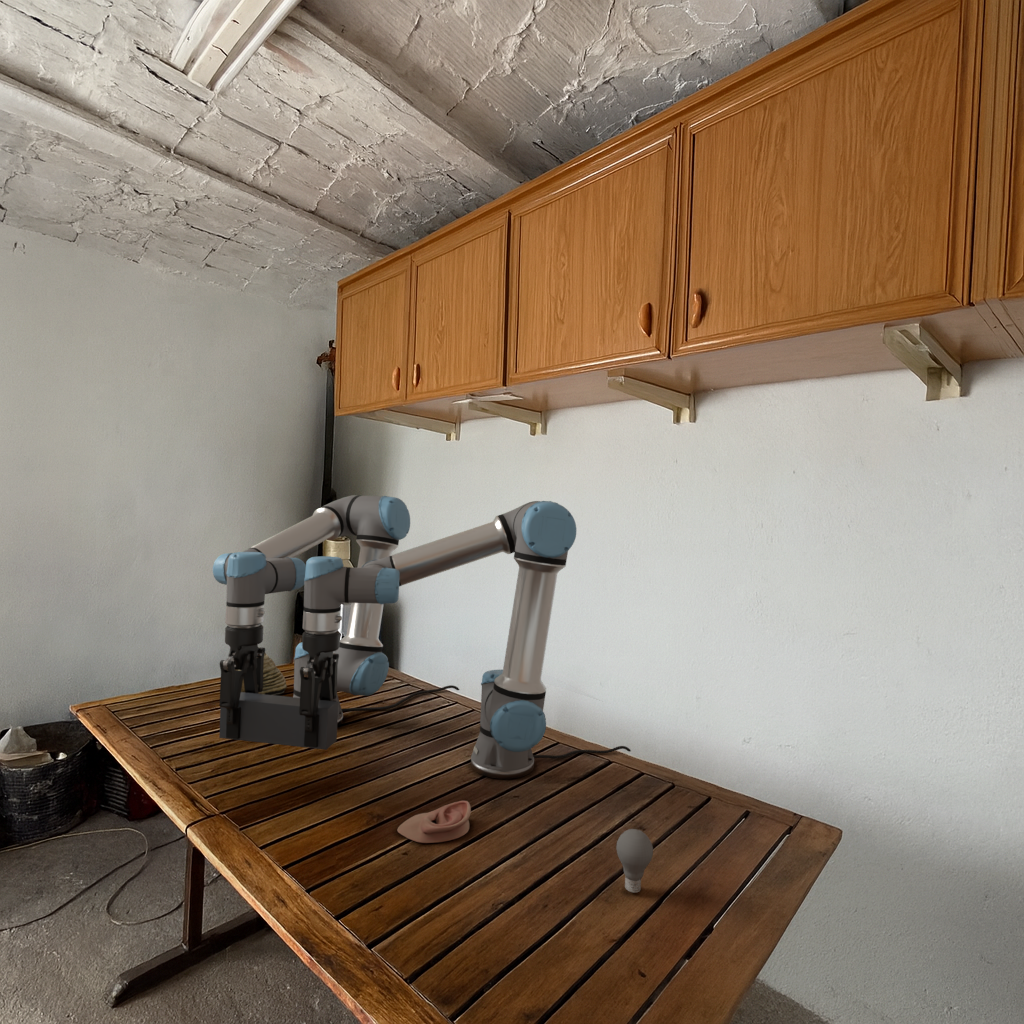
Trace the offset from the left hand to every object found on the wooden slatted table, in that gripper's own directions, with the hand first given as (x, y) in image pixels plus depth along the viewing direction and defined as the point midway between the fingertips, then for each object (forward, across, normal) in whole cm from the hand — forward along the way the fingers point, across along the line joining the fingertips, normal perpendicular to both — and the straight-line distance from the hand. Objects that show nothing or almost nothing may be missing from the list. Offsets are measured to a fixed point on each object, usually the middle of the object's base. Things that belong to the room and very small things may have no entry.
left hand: (240, 732), depth 136 cm
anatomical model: (+12, -6, -45) cm, 47 cm away
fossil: (+12, +58, +31) cm, 67 cm away
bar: (+1, 0, -9) cm, 9 cm away
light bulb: (+12, -18, -82) cm, 85 cm away
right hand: (0, 0, -17) cm, 17 cm away
